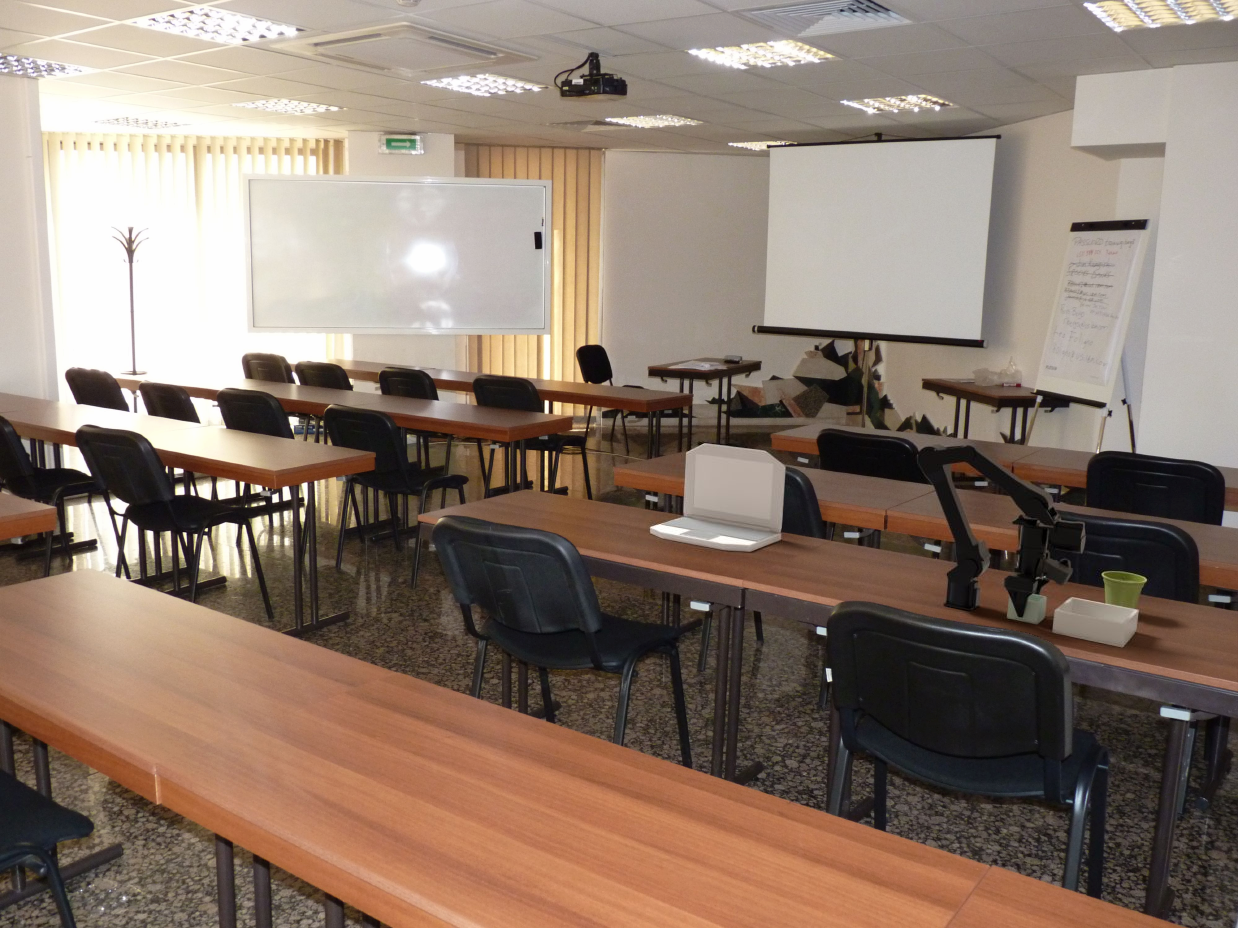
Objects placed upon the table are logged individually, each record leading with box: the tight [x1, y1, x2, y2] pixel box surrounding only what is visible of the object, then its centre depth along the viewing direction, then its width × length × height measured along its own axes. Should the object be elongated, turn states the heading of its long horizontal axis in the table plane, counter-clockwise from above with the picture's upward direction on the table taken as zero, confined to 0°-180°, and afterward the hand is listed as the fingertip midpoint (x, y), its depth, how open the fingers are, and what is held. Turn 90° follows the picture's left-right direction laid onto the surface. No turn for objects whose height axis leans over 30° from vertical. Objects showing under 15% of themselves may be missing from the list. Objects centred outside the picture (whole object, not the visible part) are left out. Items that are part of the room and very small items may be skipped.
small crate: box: [1006, 594, 1048, 625], centre depth 227 cm, size 6×6×5 cm
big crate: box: [1051, 597, 1139, 648], centre depth 218 cm, size 14×14×5 cm
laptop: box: [649, 443, 786, 553], centre depth 295 cm, size 33×24×26 cm
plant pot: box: [1101, 570, 1148, 610], centre depth 234 cm, size 9×9×9 cm
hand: (1026, 612), depth 227 cm, fingers open, 9 cm apart
